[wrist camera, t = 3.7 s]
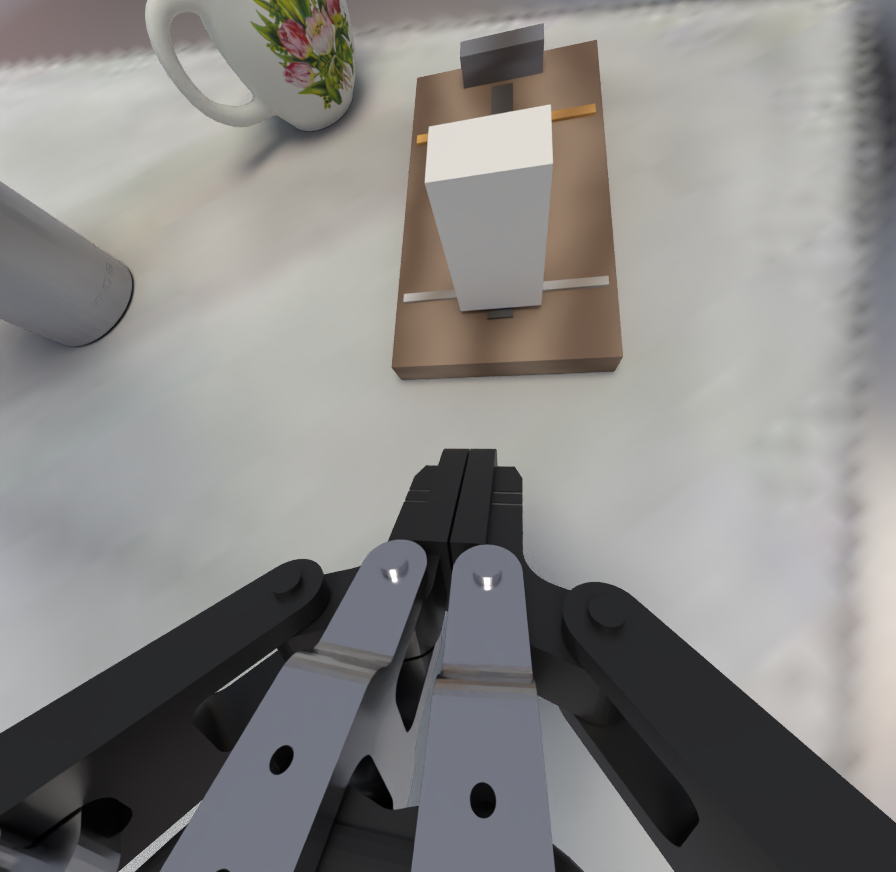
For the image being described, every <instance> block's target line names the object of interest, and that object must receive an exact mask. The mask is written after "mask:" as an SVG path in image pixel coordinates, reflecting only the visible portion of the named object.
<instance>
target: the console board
mask: <svg viewBox="0 0 896 872" xmlns="http://www.w3.org/2000/svg"><path fill="white" fill-rule="evenodd" d="M543 50H544V23H543V24H538V25H534V26H529V27H525V28H521V29H516V30H512V31H507V32H503V33H499V34H494V35H490V36H485V37H481V38H477V39H472V40H468V41H463V42H461V48H460V61H461V69H457V70H452V71H448V72H443V73H438V74H434V75H429V76H424V77H420V78H417V87H416V98H415V110H414V121H413V132H412V144H411V155H410V166H409V178H408V189H407V200H406V211H405V223H404V234H403V245H402V257H401V268H400V279H399V291H398V302H397V313H396V324H395V336H394V347H393V358H392V368H393V370H394V371H395V372H396V373H397V375H398V376H399V377H400V378H401V380H405V379H430V378H455V377H480V376H506V375H531V374H556V373H581V372H606V371H615V369H616V368H617V366H618V364H619V363H620V361H621V359H622V357H623V351H622V339H621V327H620V315H619V303H618V291H617V278H616V266H615V254H614V242H613V230H612V218H611V206H610V193H609V181H608V169H607V157H606V145H605V133H604V120H603V108H602V96H601V84H600V72H599V60H598V47H597V40H594V41H589V42H584V43H580V44H575V45H570V46H565V47H561V48H556V49H551V50H547V51H543ZM550 104H551V122H552V150H553V169H552V181H551V194H550V206H549V218H548V230H547V242H546V254H545V266H544V278H543V290H542V302H541V305H535V306H522V307H509V308H496V309H483V310H470V311H460V307H459V303H458V300H457V296H456V293H455V289H454V286H453V282H452V279H451V275H450V271H449V268H448V264H447V261H446V257H445V254H444V250H443V247H442V243H441V239H440V236H439V232H438V229H437V225H436V222H435V218H434V215H433V211H432V207H431V204H430V200H429V197H428V193H427V190H426V186H425V171H426V158H427V144H428V131H429V127H430V126H435V125H441V124H446V123H452V122H457V121H462V120H468V119H473V118H479V117H484V116H490V115H495V114H501V113H506V112H512V111H517V110H522V109H528V108H533V107H539V106H544V105H550Z"/></svg>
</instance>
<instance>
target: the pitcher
mask: <svg viewBox="0 0 896 872" xmlns="http://www.w3.org/2000/svg"><path fill="white" fill-rule="evenodd" d="M182 12H193V13H196V14H198V15H199V17H200V19H201V20H202V23H203V25H204V26H205V28H206V30H207V32H208V34H209V35H210V37H211V39H212V41H213V42H214V44H215V45H216V47H217V49H218V50H219V52H220V53H221V55H222V56H223V58H224V59H225V60H226V62H227V63H228V65H229V66H230V67H231V69H232V70H233V71H234V72H235V73H236V75H237V76H238V77H239V78H240V80H241V81H242V82H243V83H244V84H245V85H246V87H247V88H248V89H249V90H250V91H251V92H252V94H253V99H252V101H251V102H249V103H247V104H245V105H241V106H229V105H223V104H219V103H216V102H214V101H212V100H210V99H208V98H207V97H206V96H205V95H204V94H202V92H201V91H200V90H199V89H198V88H197V87H196V86H195V85H194V84H193V82H192V81H191V79H190V78H189V77H188V75H187V74H186V73H185V71H184V69H183V67H182V66H181V64H180V62H179V60H178V58H177V56H176V53H175V51H174V48H173V45H172V42H171V38H170V25H171V22H172V19H173V18H174V17H175V16H176V15H177V14H179V13H182ZM145 20H146V26H147V32H148V35H149V38H150V41H151V44H152V47H153V49H154V51H155V53H156V55H157V57H158V59H159V61H160V63H161V64H162V66H163V68H164V69H165V71H166V73H167V74H168V76H169V77H170V79H171V80H172V81H173V83H174V84H175V85H176V86H177V88H178V89H179V90H180V92H181V93H182V94H183V95H184V96H185V97H186V98H187V99H188V100H189V101H190V103H191V104H192V105H194V106H195V107H196V108H197V109H198V110H200V111H201V112H202V113H203V114H204V115H206V116H208V117H210V118H211V119H213V120H215V121H217V122H220V123H222V124H225V125H229V126H234V127H248V126H251V125H255V124H257V123H259V122H261V121H263V120H265V119H267V118H269V117H272V116H279V117H280V118H282V119H283V120H285V121H287V122H288V123H290V124H292V125H293V126H294V127H296V128H297V129H299V130H303V131H315V130H319V129H323V128H325V127H327V126H329V125H331V124H333V123H334V122H336V121H337V120H338V119H340V118H341V117H342V116H343V115H344V113H345V112H346V111H347V110H348V108H349V106H350V104H351V102H352V98H353V89H354V82H355V52H354V42H353V34H352V28H351V22H350V17H349V12H348V8H347V3H346V0H148V1H147V4H146V12H145Z"/></svg>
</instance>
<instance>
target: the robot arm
mask: <svg viewBox="0 0 896 872" xmlns="http://www.w3.org/2000/svg"><path fill="white" fill-rule="evenodd" d="M131 291H132V278H131V275H130V272H129V270H128V269H127V267H126V266H125V265H124V264H123V263H121V262H120V261H118V260H117V259H115V258H114V257H112V256H111V255H109V254H108V253H106V252H105V251H103V250H102V249H100V248H99V247H97V246H96V245H94V244H93V243H91V242H90V241H88V240H87V239H85V238H84V237H82V236H81V235H80V234H78V233H77V232H75V231H74V230H72V229H71V228H69V227H68V226H66V225H65V224H63V223H62V222H60V221H59V220H57V219H56V218H54V217H53V216H51V215H50V214H48V213H47V212H46V211H44V210H43V209H41V208H40V207H38V206H37V205H35V204H34V203H32V202H31V201H29V200H28V199H26V198H25V197H23V196H22V195H20V194H19V193H17V192H16V191H14V190H13V189H11V188H10V187H8V186H7V185H5V184H4V183H2V182H1V181H0V319H2V320H4V321H7V322H9V323H11V324H14V325H16V326H19V327H21V328H24V329H26V330H29V331H31V332H34V333H36V334H39V335H41V336H44V337H46V338H48V339H51V340H53V341H56V342H58V343H61V344H63V345H67V346H81V345H84V344H88V343H90V342H92V341H94V340H96V339H98V338H99V337H101V336H102V335H104V334H105V333H106V332H107V331H108V330H109V329H110V328H111V327H113V326H114V325H115V323H116V322H117V321H118V319H119V318H120V317H121V315H122V314H123V312H124V310H125V308H126V307H127V304H128V302H129V299H130V296H131ZM445 611H448V619H447V628H446V638H445V647H444V657H443V665H442V670H441V673H440V674H438V675H437V677H436V680H435V684H434V689H433V695H432V702H431V710H430V718H429V727H428V735H427V743H426V752H425V760H424V769H423V777H422V785H421V794H420V802H419V806H415V807H408V808H406V807H407V803H408V799H409V795H410V791H411V786H412V781H413V775H414V767H415V749H416V741H417V735H418V731H419V727H420V723H421V719H422V716H423V712H424V708H425V704H426V701H427V697H428V693H429V689H430V685H431V682H432V678H433V674H434V670H435V666H436V663H437V659H438V655H439V651H440V647H441V642H442V635H441V630H442V625H443V619H444V614H445ZM276 648H277V649H278V651H276V652H275V653H274V654H272V655H271V656H270V657H268V658H267V659H265V660H264V661H263V662H261V663H260V664H259V665H257V666H256V667H254V668H253V669H252V670H250V671H249V672H248V673H246V674H245V675H243V676H242V677H241V678H239V679H238V680H237V681H235V682H234V683H232V684H231V685H230V686H228V687H227V688H225V689H223V690H221V691H219V692H217V691H218V690H219V689H221V688H222V687H223V686H225V685H226V684H228V683H229V682H230V681H232V680H233V679H235V678H236V677H237V676H239V675H240V674H241V673H243V672H244V671H246V670H247V669H248V668H250V667H251V666H252V665H254V664H255V663H257V662H258V661H259V660H261V659H262V658H264V657H265V656H266V655H268V654H269V653H270V652H272V651H273V650H275V649H276ZM215 692H216V693H215ZM537 695H538V696H540V697H542V698H544V699H546V700H548V701H550V702H552V703H554V704H556V705H557V706H559V708H560V710H561V712H562V714H563V716H564V717H565V719H566V720H567V722H568V723H569V724H570V726H571V727H572V729H573V730H574V731H575V733H576V734H577V736H578V737H579V738H580V740H581V741H582V743H583V744H584V745H585V747H586V748H587V750H588V751H589V752H590V754H591V755H592V757H593V758H594V759H595V761H596V762H597V764H598V765H599V766H600V768H601V769H602V771H603V772H604V773H605V775H606V776H607V778H608V779H609V780H610V782H611V783H612V785H613V786H614V787H615V789H616V790H617V792H618V793H619V794H620V796H621V797H622V799H623V800H624V802H625V803H626V804H627V806H628V807H629V809H630V810H631V811H632V813H633V814H634V816H635V817H636V818H637V820H638V821H639V823H640V824H641V825H642V827H643V828H644V830H645V831H646V832H647V834H648V835H649V837H650V838H651V839H652V841H653V842H654V844H655V845H656V846H657V848H658V849H659V851H660V852H661V853H662V855H663V856H664V858H665V859H666V860H667V862H668V863H669V865H670V866H671V867H672V869H673V870H674V872H896V823H895V822H894V821H893V820H892V819H891V818H889V817H888V816H887V815H886V814H885V813H884V812H883V811H881V810H880V809H879V808H878V807H877V806H876V805H874V804H873V803H872V802H871V801H870V800H869V799H867V798H866V797H865V796H864V795H863V794H862V793H860V792H859V791H858V790H857V789H856V788H855V787H854V786H852V785H851V784H850V783H849V782H848V781H847V780H845V779H844V778H843V777H842V776H841V775H840V774H838V773H837V772H836V771H835V770H834V769H833V768H831V767H830V766H829V765H828V764H827V763H826V762H824V761H823V760H822V759H821V758H820V757H819V756H818V755H816V754H815V753H814V752H813V751H812V750H811V749H809V748H808V747H807V746H806V745H805V744H804V743H802V742H801V741H800V740H799V739H798V738H797V737H795V736H794V735H793V734H792V733H791V732H790V731H788V730H787V729H786V728H785V727H784V726H783V725H782V724H780V723H779V722H778V721H777V720H776V719H775V718H773V717H772V716H771V715H770V714H769V713H768V712H766V711H765V710H764V709H763V708H762V707H761V706H759V705H758V704H757V703H756V702H755V701H754V700H752V699H751V698H750V697H749V696H748V695H747V694H746V693H744V692H743V691H742V690H741V689H740V688H739V687H737V686H736V685H735V684H734V683H733V682H732V681H730V680H729V679H728V678H727V677H726V676H725V675H723V674H722V673H721V672H720V671H719V670H718V669H716V668H715V667H714V666H713V665H712V664H711V663H710V662H708V661H707V660H706V659H705V658H704V657H703V656H701V655H700V654H699V653H698V652H697V651H696V650H694V649H693V648H692V647H691V646H690V645H689V644H687V643H686V642H685V641H684V640H683V639H682V638H680V637H679V636H678V635H677V634H676V633H675V632H674V631H672V630H671V629H670V628H669V627H668V626H667V625H665V624H664V623H663V622H662V621H661V620H660V619H658V618H657V617H656V616H655V615H654V614H653V613H651V612H650V611H649V610H648V609H647V608H646V607H644V606H643V605H642V604H641V603H640V602H639V601H638V600H636V599H635V598H634V597H633V596H631V595H630V594H629V593H627V592H626V591H624V590H622V589H621V588H618V587H616V586H614V585H610V584H607V583H601V582H588V583H584V584H580V585H578V586H576V587H575V588H573V589H572V590H571V591H570V590H567V589H565V588H562V587H559V586H556V585H554V584H551V583H549V582H547V581H545V580H543V579H541V578H540V577H539V576H537V575H536V574H535V573H534V572H533V571H532V570H531V569H530V568H529V566H528V565H527V563H526V561H525V559H524V556H523V521H522V477H521V476H520V474H519V473H518V471H517V470H516V468H515V467H500V466H497V450H496V449H471V450H470V449H444V450H443V452H442V455H441V458H440V461H439V464H438V466H428V465H426V466H425V467H424V468H423V469H422V470H421V471H420V472H419V473H418V474H417V475H415V477H414V479H413V482H412V484H411V486H410V491H408V494H407V496H406V499H405V502H404V503H403V506H402V508H401V511H400V513H399V516H398V518H397V520H396V523H395V525H394V528H393V530H392V533H391V535H390V537H389V540H388V542H386V543H383V544H381V545H379V546H378V547H376V548H375V549H373V550H372V551H371V552H370V553H369V554H368V555H367V557H366V558H365V560H364V561H363V563H362V565H361V566H359V567H356V568H352V569H348V570H343V571H338V572H333V573H329V574H324V573H323V571H322V569H321V567H320V566H319V565H318V564H317V563H316V562H314V561H312V560H308V559H297V560H292V561H289V562H286V563H284V564H282V565H280V566H278V567H276V568H274V569H273V570H271V571H269V572H268V573H266V574H264V575H263V576H261V577H259V578H258V579H256V580H254V581H253V582H251V583H249V584H248V585H246V586H244V587H243V588H241V589H239V590H238V591H236V592H234V593H233V594H231V595H230V596H228V597H226V598H225V599H223V600H221V601H220V602H218V603H216V604H215V605H213V606H211V607H210V608H208V609H206V610H205V611H203V612H201V613H200V614H198V615H196V616H195V617H193V618H191V619H190V620H188V621H186V622H185V623H183V624H181V625H180V626H178V627H176V628H175V629H173V630H171V631H170V632H168V633H166V634H165V635H163V636H161V637H160V638H158V639H156V640H155V641H153V642H151V643H150V644H148V645H146V646H145V647H143V648H141V649H140V650H138V651H137V652H135V653H133V654H132V655H130V656H128V657H127V658H125V659H123V660H122V661H120V662H118V663H117V664H115V665H113V666H112V667H110V668H108V669H107V670H105V671H103V672H102V673H100V674H98V675H97V676H95V677H93V678H92V679H90V680H88V681H87V682H85V683H83V684H82V685H80V686H78V687H77V688H75V689H73V690H72V691H70V692H68V693H67V694H65V695H63V696H62V697H60V698H58V699H57V700H55V701H53V702H52V703H50V704H48V705H47V706H45V707H43V708H42V709H40V710H39V711H37V712H35V713H34V714H32V715H30V716H29V717H27V718H25V719H24V720H22V721H20V722H19V723H17V724H15V725H14V726H12V727H10V728H9V729H7V730H5V731H4V732H2V733H0V872H118V871H120V870H121V869H122V868H123V867H124V866H125V865H127V864H128V863H129V862H130V861H131V860H132V859H134V858H135V857H136V856H137V855H138V854H139V853H141V852H142V851H143V850H144V849H145V848H147V847H148V846H149V845H150V844H151V843H152V842H154V841H155V840H156V839H157V838H158V837H159V836H161V835H162V834H163V833H164V832H165V831H166V830H168V829H169V828H170V827H171V826H172V825H173V824H175V823H176V822H177V821H178V820H179V819H180V818H182V817H183V816H184V815H185V814H186V813H187V812H189V811H190V810H191V809H192V808H193V807H194V806H196V805H197V804H198V803H199V802H200V801H201V800H202V802H201V804H200V805H199V807H198V809H197V810H196V812H195V814H194V815H193V817H192V819H191V820H190V822H189V823H188V824H187V825H186V826H185V827H184V828H183V829H181V830H180V831H179V832H178V833H177V834H176V835H175V836H174V837H172V838H171V839H170V840H169V841H168V842H167V843H166V844H165V845H164V846H163V847H161V848H160V849H159V850H158V851H157V852H156V853H155V854H154V855H153V856H152V857H150V858H149V859H148V860H147V861H146V862H145V863H144V864H143V865H142V866H141V867H140V868H138V869H137V870H136V871H135V872H584V871H583V870H582V869H581V868H580V867H579V866H578V865H577V864H576V863H575V862H574V861H573V860H572V859H571V858H570V857H569V856H567V855H566V854H565V853H564V852H562V851H561V850H560V849H559V848H557V847H556V846H555V845H554V844H552V836H551V826H550V816H549V806H548V796H547V787H546V777H545V767H544V757H543V747H542V737H541V727H540V718H539V708H538V699H537Z"/></svg>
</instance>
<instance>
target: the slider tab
mask: <svg viewBox="0 0 896 872" xmlns="http://www.w3.org/2000/svg"><path fill="white" fill-rule="evenodd" d="M552 169H553V150H552V122H551V104H550V105H544V106H539V107H533V108H528V109H522V110H517V111H512V112H506V113H501V114H495V115H490V116H484V117H479V118H473V119H468V120H462V121H457V122H452V123H446V124H441V125H435V126H430V127H429V131H428V144H427V158H426V171H425V186H426V190H427V193H428V197H429V200H430V204H431V207H432V211H433V215H434V218H435V222H436V225H437V229H438V232H439V236H440V239H441V243H442V247H443V250H444V254H445V257H446V261H447V264H448V268H449V271H450V275H451V279H452V282H453V286H454V289H455V293H456V296H457V300H458V303H459V307H460V311H470V310H483V309H496V308H509V307H522V306H535V305H541V302H542V290H543V278H544V266H545V254H546V242H547V230H548V218H549V206H550V194H551V181H552Z"/></svg>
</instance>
